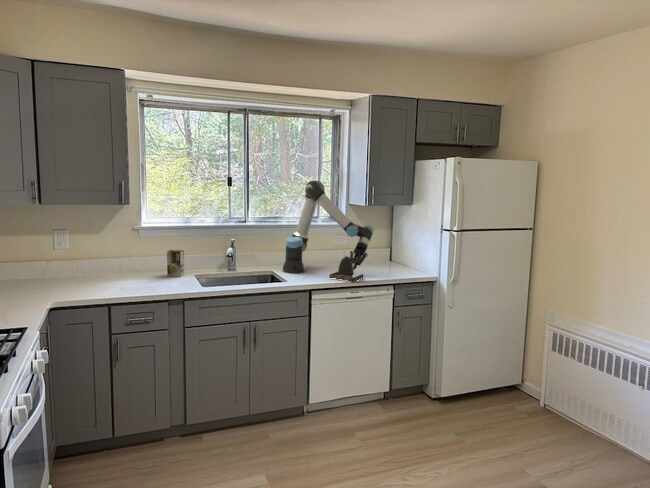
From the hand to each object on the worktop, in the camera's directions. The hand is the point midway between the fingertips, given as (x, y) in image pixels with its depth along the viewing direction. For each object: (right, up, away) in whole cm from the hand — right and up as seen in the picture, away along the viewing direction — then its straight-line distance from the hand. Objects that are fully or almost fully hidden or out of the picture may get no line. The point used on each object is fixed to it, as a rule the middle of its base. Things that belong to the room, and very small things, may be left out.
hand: (350, 272), depth 322 cm
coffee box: (-113, -1, -14) cm, 114 cm away
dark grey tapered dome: (-4, -4, -6) cm, 9 cm away
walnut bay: (-3, -4, -5) cm, 7 cm away
